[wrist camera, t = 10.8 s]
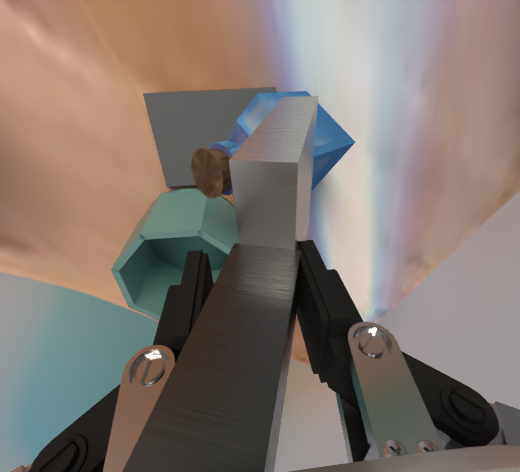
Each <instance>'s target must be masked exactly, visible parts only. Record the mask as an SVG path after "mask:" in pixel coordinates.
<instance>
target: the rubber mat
mask: <svg viewBox="0 0 520 472" xmlns="http://www.w3.org/2000/svg"><path fill="white" fill-rule="evenodd" d="M258 93H276V87H267V88H247V89H226V90H205V91H184V92H163V93H144V94H143V95H144V99H145V103H146V107H147V111H148V115H149V119H150V123H151V127H152V130H153V134H154V138H155V142H156V146H157V150H158V154H159V158H160V162H161V166H162V170H163V174H164V177H165V181H166V185H167V187H173V186H189V185H196V184H195V181H194V179H193V176H192V171H191V159H192V155H193V153H194V151H196V150H197V149H200V148H206V149H207V148H208V147H209V146H210V145H211V144H213V143H217V142H222V141H228V140H229V137H230V135H231V133H232V130H233V128H234V126H235V123H236V121H237V120H238V118H239V117H240V116H241V115H242V113H243V112H244V111H245V110H246V108H247V107H248V106H249V104H250V103H251V102H252V101H253V99H254V98H255V97H256V96H257V94H258Z"/></svg>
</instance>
